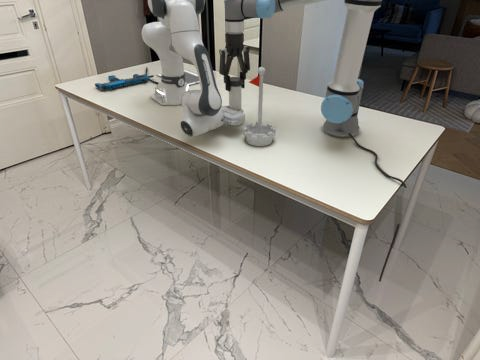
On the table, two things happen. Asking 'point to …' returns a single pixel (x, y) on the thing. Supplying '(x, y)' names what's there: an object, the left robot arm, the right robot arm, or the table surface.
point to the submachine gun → (122, 81)
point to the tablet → (189, 78)
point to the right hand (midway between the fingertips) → (235, 88)
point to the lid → (236, 81)
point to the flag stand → (259, 119)
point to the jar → (235, 98)
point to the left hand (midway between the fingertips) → (236, 108)
